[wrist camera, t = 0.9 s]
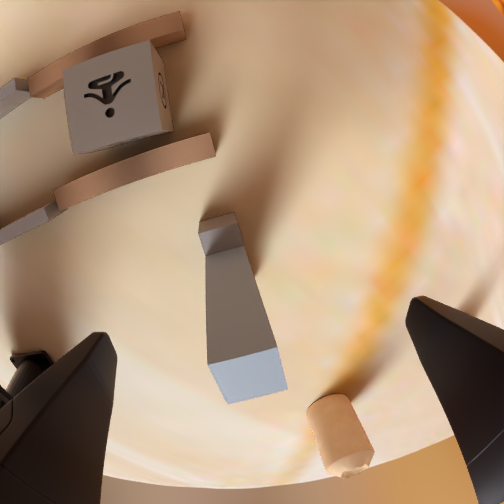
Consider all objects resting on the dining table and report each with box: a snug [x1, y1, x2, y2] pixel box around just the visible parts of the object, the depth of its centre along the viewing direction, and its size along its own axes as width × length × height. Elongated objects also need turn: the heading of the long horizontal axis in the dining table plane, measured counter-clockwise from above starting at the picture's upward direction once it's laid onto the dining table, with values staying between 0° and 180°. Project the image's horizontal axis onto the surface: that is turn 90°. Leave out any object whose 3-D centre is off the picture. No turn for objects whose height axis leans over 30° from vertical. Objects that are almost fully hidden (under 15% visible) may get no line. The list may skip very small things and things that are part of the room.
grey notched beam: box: [198, 212, 288, 404], centre depth 15 cm, size 2×6×12 cm, turn 13°
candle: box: [307, 394, 374, 479], centre depth 26 cm, size 6×6×10 cm
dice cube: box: [62, 40, 174, 156], centre depth 14 cm, size 5×5×5 cm
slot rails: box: [28, 11, 216, 211], centre depth 15 cm, size 11×10×2 cm
